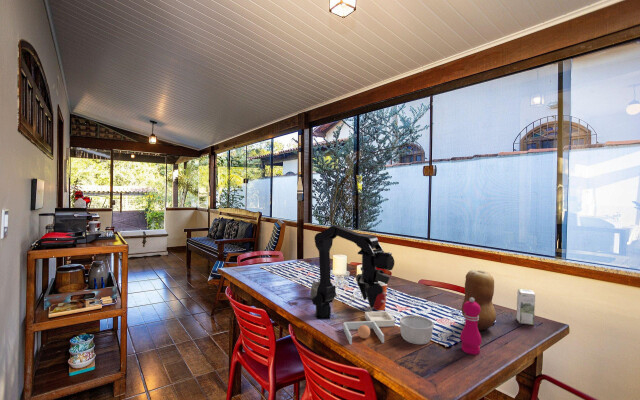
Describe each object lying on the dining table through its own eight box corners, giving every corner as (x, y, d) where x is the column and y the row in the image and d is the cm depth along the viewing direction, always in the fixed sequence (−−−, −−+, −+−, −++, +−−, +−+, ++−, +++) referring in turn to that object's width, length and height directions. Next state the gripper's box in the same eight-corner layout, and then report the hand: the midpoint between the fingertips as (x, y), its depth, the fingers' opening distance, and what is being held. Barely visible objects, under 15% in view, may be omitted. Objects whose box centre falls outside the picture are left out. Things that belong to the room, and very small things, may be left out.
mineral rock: (337, 299, 173) (338, 281, 173) (325, 304, 165) (325, 285, 165) (319, 294, 181) (319, 276, 181) (307, 298, 173) (307, 280, 173)
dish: (371, 327, 138) (371, 321, 138) (364, 317, 149) (365, 311, 149) (394, 326, 139) (394, 320, 139) (386, 316, 150) (386, 311, 150)
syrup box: (530, 320, 147) (531, 289, 147) (534, 325, 142) (535, 293, 141) (516, 318, 149) (517, 288, 149) (519, 323, 144) (520, 292, 143)
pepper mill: (456, 346, 122) (457, 294, 121) (474, 345, 123) (475, 294, 122) (466, 355, 115) (468, 301, 114) (485, 355, 115) (487, 300, 115)
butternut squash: (502, 334, 133) (504, 274, 132) (473, 336, 131) (475, 275, 130) (480, 320, 147) (482, 266, 146) (454, 322, 144) (455, 267, 144)
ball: (359, 341, 125) (359, 328, 125) (356, 335, 130) (356, 323, 130) (371, 340, 126) (371, 328, 125) (368, 334, 131) (368, 322, 130)
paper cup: (387, 311, 156) (387, 283, 155) (371, 310, 157) (371, 282, 157) (387, 306, 163) (387, 279, 163) (372, 304, 165) (372, 278, 165)
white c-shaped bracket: (349, 344, 122) (349, 336, 122) (343, 329, 136) (343, 322, 136) (384, 342, 124) (384, 335, 124) (374, 327, 137) (374, 321, 137)
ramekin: (428, 349, 119) (429, 331, 119) (394, 340, 126) (394, 323, 126) (436, 336, 130) (436, 319, 130) (404, 328, 137) (405, 312, 137)
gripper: (396, 271, 123) (395, 311, 123) (380, 260, 142) (379, 295, 142) (368, 272, 121) (367, 312, 122) (355, 261, 140) (355, 296, 140)
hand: (368, 303), depth 131 cm, fingers open, 9 cm apart
